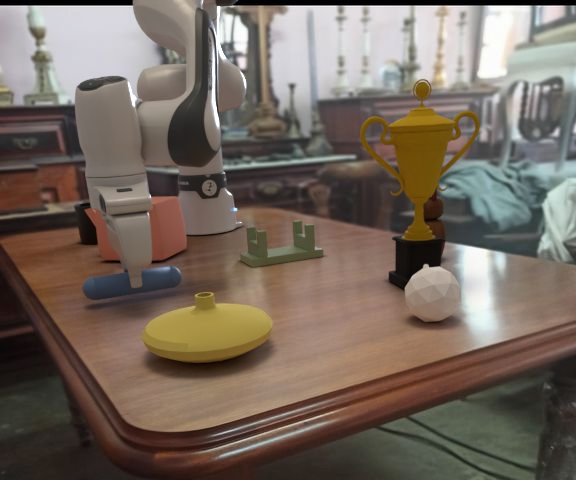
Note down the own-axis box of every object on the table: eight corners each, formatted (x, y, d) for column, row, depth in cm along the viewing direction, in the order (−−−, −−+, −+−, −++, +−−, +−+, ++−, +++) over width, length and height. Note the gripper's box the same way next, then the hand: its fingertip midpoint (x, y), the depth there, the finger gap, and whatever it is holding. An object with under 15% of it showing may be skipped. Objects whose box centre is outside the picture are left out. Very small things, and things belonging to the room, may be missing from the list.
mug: (133, 239, 145) (127, 202, 142) (83, 246, 141) (76, 207, 138) (126, 234, 153) (121, 198, 150) (79, 240, 149) (72, 203, 146)
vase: (180, 389, 62) (172, 326, 59) (124, 349, 74) (115, 295, 71) (300, 350, 70) (297, 293, 67) (232, 320, 82) (228, 271, 79)
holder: (240, 260, 117) (237, 227, 115) (308, 250, 122) (306, 218, 120) (252, 267, 111) (249, 233, 109) (323, 256, 116) (322, 223, 114)
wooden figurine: (445, 263, 105) (449, 177, 100) (412, 264, 106) (414, 178, 101) (443, 255, 111) (447, 173, 106) (412, 255, 113) (414, 174, 107)
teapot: (198, 245, 134) (191, 182, 129) (152, 269, 114) (142, 196, 109) (121, 245, 139) (111, 185, 134) (65, 268, 120) (51, 198, 114)
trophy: (455, 269, 101) (464, 78, 90) (486, 282, 92) (501, 73, 81) (350, 282, 97) (347, 84, 86) (373, 298, 88) (373, 79, 77)
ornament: (399, 327, 75) (387, 270, 78) (432, 332, 80) (420, 278, 83) (445, 308, 71) (431, 247, 73) (477, 315, 76) (463, 258, 78)
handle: (86, 304, 90) (81, 281, 89) (83, 298, 93) (79, 276, 92) (185, 288, 96) (182, 266, 94) (179, 283, 99) (177, 262, 97)
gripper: (90, 190, 96) (104, 272, 102) (107, 204, 79) (123, 302, 84) (129, 186, 99) (141, 266, 104) (153, 199, 81) (167, 295, 86)
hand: (133, 283), depth 94 cm, fingers closed on handle, 3 cm apart
